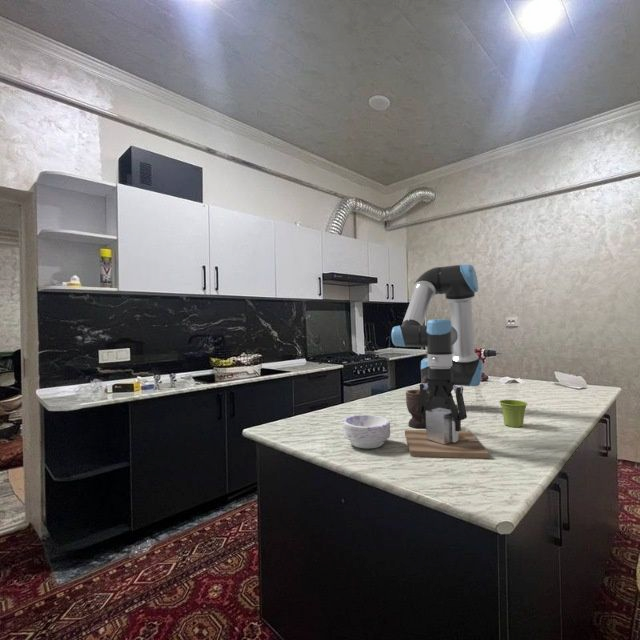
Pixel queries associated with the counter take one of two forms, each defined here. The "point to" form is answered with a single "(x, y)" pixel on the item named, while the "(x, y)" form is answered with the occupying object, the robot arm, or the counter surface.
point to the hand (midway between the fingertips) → (442, 438)
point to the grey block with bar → (439, 425)
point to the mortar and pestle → (416, 406)
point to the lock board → (445, 446)
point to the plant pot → (513, 412)
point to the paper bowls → (366, 430)
